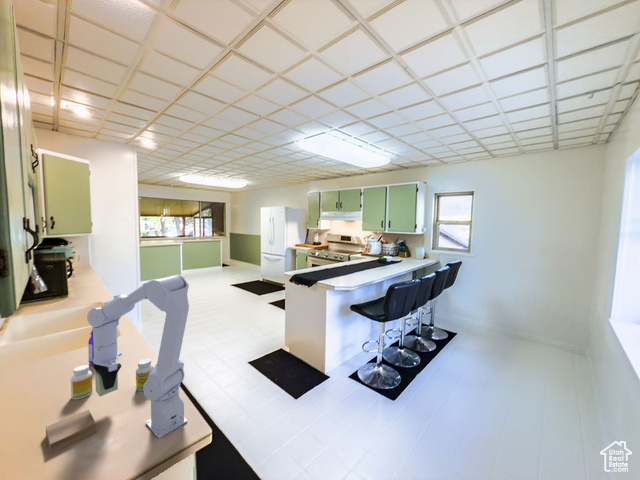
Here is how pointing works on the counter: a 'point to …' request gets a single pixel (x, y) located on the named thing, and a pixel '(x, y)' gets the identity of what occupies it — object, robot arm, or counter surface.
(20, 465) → the counter surface
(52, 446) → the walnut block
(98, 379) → the sage block
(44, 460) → the counter surface
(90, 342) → the bottle
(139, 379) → the supplement bottle
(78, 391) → the supplement bottle
